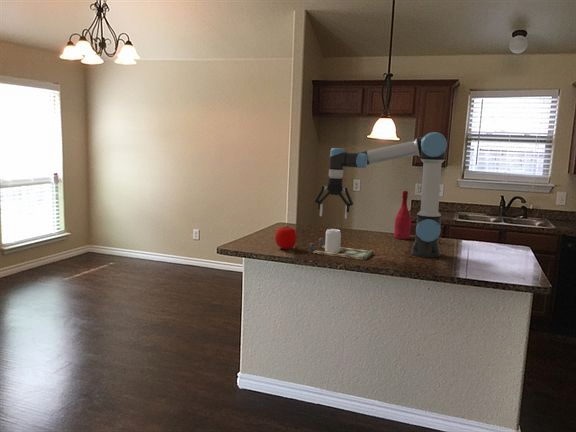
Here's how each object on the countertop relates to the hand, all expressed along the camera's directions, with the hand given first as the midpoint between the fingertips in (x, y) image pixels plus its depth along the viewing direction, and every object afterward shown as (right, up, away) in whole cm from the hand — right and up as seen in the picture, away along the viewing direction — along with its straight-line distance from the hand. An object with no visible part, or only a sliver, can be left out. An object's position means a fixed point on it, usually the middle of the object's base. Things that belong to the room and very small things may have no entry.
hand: (333, 217), depth 251 cm
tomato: (-26, -17, +5) cm, 31 cm away
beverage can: (0, -19, +1) cm, 19 cm away
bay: (+4, -19, -1) cm, 20 cm away
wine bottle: (+47, -14, +43) cm, 66 cm away
